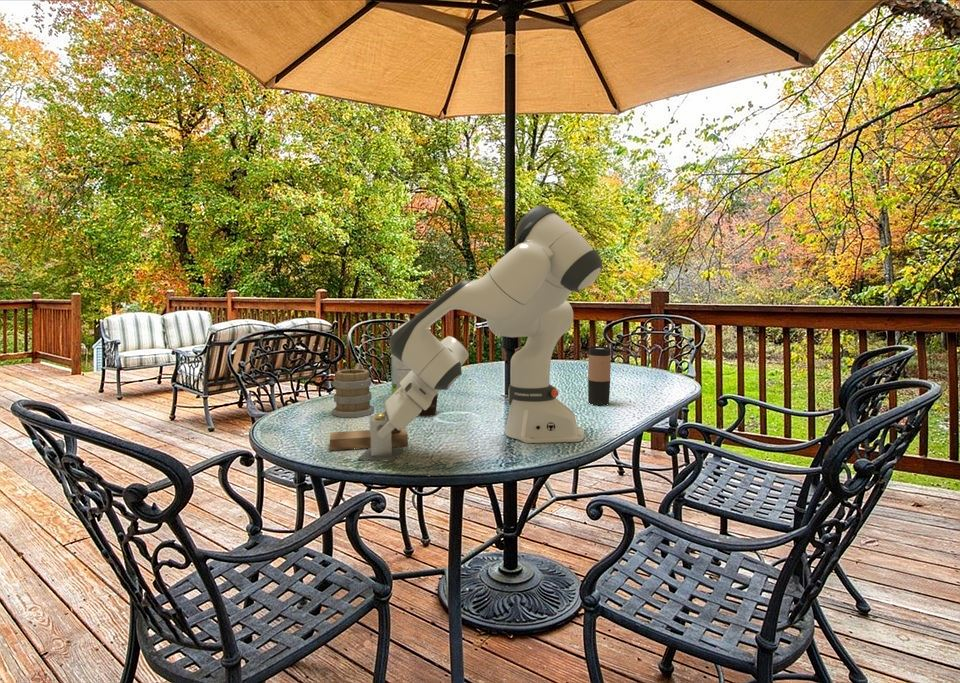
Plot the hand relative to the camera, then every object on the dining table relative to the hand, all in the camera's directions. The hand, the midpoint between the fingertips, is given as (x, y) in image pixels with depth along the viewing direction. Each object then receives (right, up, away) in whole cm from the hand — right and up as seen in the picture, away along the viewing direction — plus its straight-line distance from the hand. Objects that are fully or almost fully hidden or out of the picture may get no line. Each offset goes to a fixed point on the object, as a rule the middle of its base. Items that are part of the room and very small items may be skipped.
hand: (378, 430), depth 140 cm
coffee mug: (+6, -2, +44) cm, 44 cm away
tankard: (-16, -1, +48) cm, 51 cm away
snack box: (-2, 0, +61) cm, 61 cm away
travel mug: (+67, 0, +57) cm, 89 cm away
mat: (+1, -6, +1) cm, 6 cm away
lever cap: (+1, -6, +1) cm, 6 cm away
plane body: (-4, -5, +10) cm, 12 cm away
